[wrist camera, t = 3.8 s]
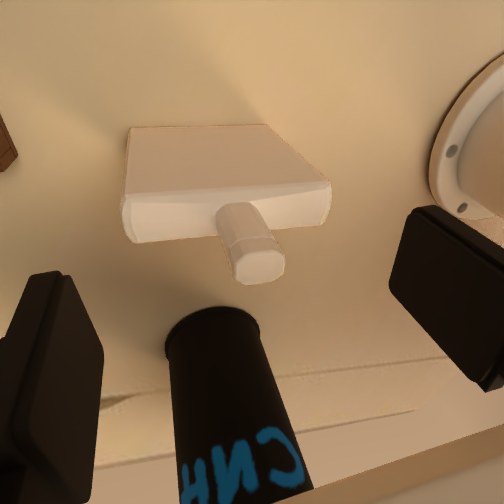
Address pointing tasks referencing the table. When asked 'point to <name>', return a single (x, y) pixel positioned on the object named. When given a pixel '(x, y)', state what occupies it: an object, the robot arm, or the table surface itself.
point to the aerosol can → (229, 414)
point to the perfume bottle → (221, 192)
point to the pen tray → (6, 148)
